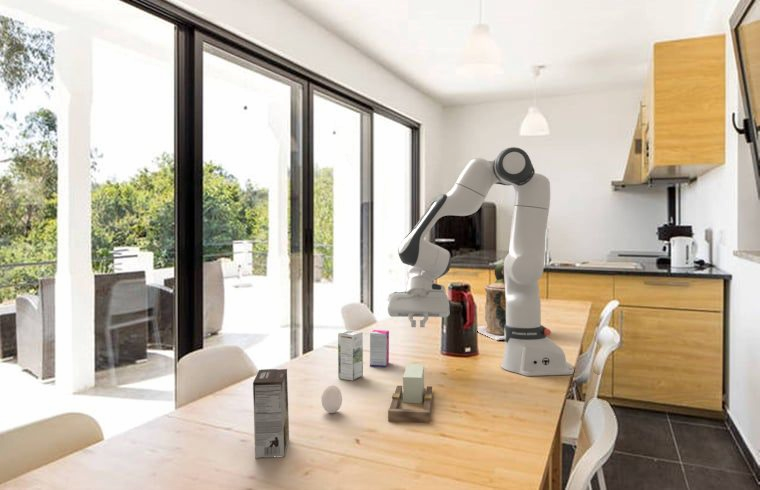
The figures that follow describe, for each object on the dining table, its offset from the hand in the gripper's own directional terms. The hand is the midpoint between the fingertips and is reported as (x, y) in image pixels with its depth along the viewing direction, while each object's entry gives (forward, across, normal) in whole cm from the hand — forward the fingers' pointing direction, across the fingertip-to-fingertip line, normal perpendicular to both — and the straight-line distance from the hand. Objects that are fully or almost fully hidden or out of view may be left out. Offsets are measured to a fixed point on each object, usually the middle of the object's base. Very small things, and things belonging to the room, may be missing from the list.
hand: (417, 326), depth 155 cm
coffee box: (+50, -28, -28) cm, 64 cm away
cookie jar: (-32, +35, +54) cm, 72 cm away
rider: (+25, 0, -3) cm, 25 cm away
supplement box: (+4, -14, +18) cm, 23 cm away
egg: (+35, -20, -13) cm, 43 cm away
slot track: (+30, 0, -8) cm, 31 cm away
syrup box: (+15, -21, +7) cm, 27 cm away
